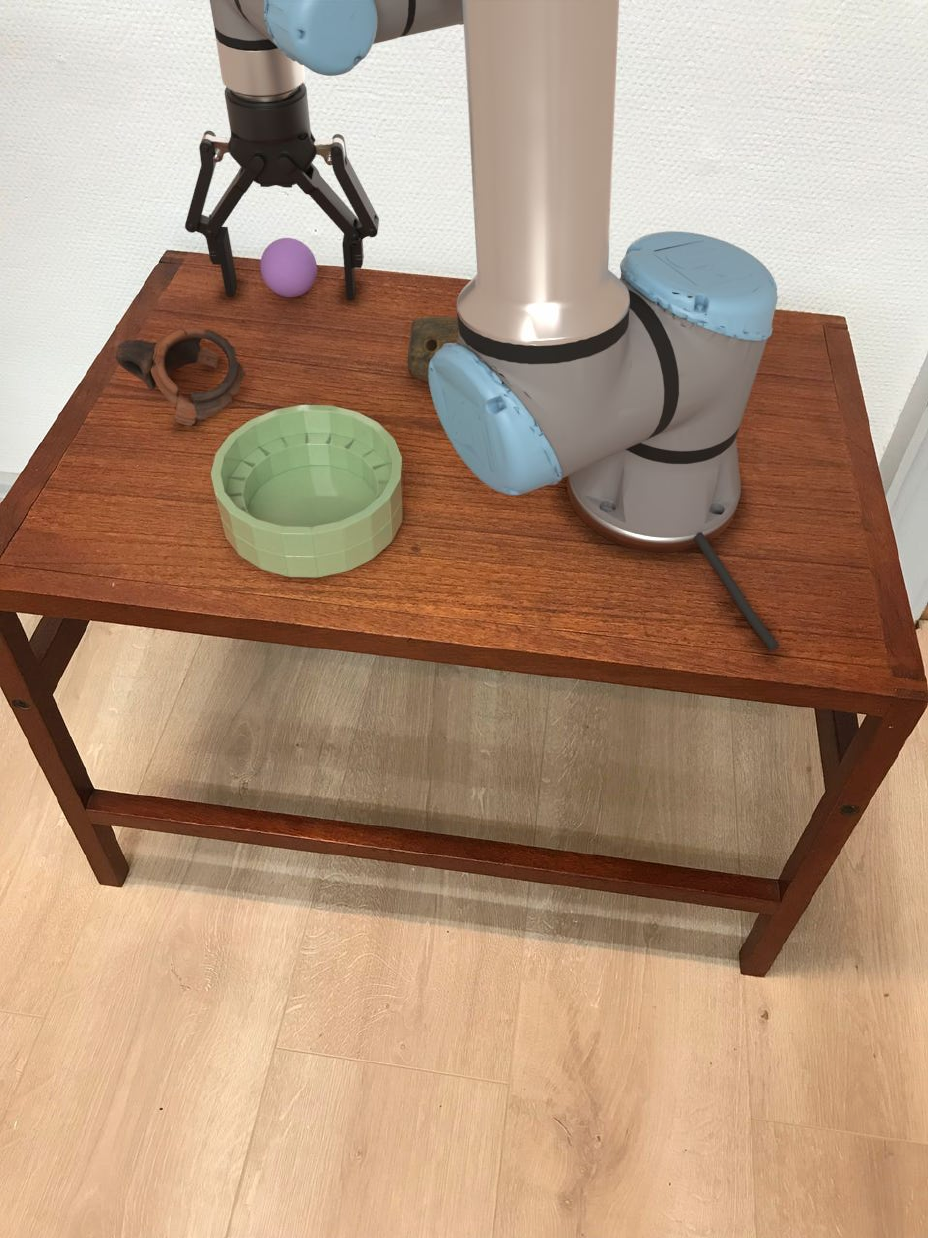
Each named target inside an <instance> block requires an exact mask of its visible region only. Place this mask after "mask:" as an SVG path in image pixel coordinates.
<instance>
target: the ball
mask: <svg viewBox="0 0 928 1238" xmlns="http://www.w3.org/2000/svg"><path fill="white" fill-rule="evenodd" d="M259 264H260V265H259V271H260V274H261V278H262V280H263V282H264V284H265V285H266V286H267V288H268V289H269V290H270V291H272V292H273V293H274V294H276V295H278V296H280V297H283V298H297V297H300V296H302V295H304V294H306V293H307V292H309V290H310V289H311V288H312V287H313V286H314V284H315V281H316V279H317V275H318V265H317V259H316V257H315V255H314V253H313V251H312V250H311V249H310V247H309V246H308V245H306V243H304V242H302V241H301V240H299V239H296V238H294V237H293V238H292V237H282V238H277V239H275V240H274V241H272V242H270V243H269V244H268V245H267V247H266V248H264V251H263V252H262V255H261V258H260V262H259Z"/></svg>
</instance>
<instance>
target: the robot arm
mask: <svg viewBox="0 0 928 1238" xmlns="http://www.w3.org/2000/svg"><path fill="white" fill-rule="evenodd" d="M209 4H210V10H211V11H210V12H211V16H212V21H213V28H214V35H215V41H216V48H217V56H218V61H219V68H220V76H221V81H222V83H223V85H224V86H225V89H224V100H225V105H226V110H227V111H226V112H227V118H228V123H229V130H230V137H224V136H217V135H216V133H215V132H214V131H212V130H205V131H204V133H203V135H202V138H201V140H200V143H199V147H198V148H199V157H200V158H199V159H200V168H199V172H198V176H197V179H196V183H195V187H194V191H193V194H192V198H191V201H190V205H189V207H188V208H189V209H188V212H187V216H186V220H185V224H184V228H185V230H186V231H187V232H188V233H190V234H193V233H195V232H196V233H199V234H201V235H202V236H204V238H205V239H206V240H205V241H206V245H207V251H208V255H209V261H210V263H212V265H215V266H220V269H221V274H222V279H223V284H224V290H225V291H224V292H225V296H226V297H234V295H235V293H236V289H237V284H238V279H237V273H236V268H235V262H234V256H233V250H232V244H231V239H230V233H229V227H228V226H224V224H225V223H226V221H227V220H228V219H229V217H230V215H231V214H232V213H233V211H234V209H235V208H236V206H237V205H238V204H239V202H240V201H241V199H242V197H243V196H244V195H245V194H246V193H247V192H248V190H249V189H250V187H252V184H253V183H256V184H258V185H260V186H259V187H260V188H270V187H274V186H277V187H282V188H286V189H287V188H288V189H289V188H290V189H292V188H293V186H295V185H297V186H298V187H299V189H300V190H301V191H302V192H303V193H304V194H305V195H308V196H310V198H311V199H312V200H313V201H314V202H315V203H316V205H317V206H318V207H319V208H320V209H321V210H322V211H323V212H324V214H326V216H327V217H329V219H330V220H331V221H332V222H333V223H334V224H335V226H336V227H337V228H338V229H339V230H340V231H341V232H342V234H343V237H342V243H341V245H342V246H341V247H342V254H343V255H342V259H343V270H344V281H345V282H344V283H345V294H346V300H354V299H355V293H356V272H355V269H362V267H363V265H364V259H365V257H364V253H365V252H364V239H365V238H367V237H369V238H375V237H376V236H378V233H379V225H380V217H379V215H378V214H377V212H376V210H375V207H374V206H373V204H372V202H371V201H370V197H369V196H368V195H367V193H366V190H365V189H364V187H363V184H362V183H361V181H360V179H359V177H358V175H357V173H356V171H355V169H354V167H353V165H352V164H351V161H350V160H349V158H348V154H347V147H346V140H345V137H344V136H343V135H342V134H340V133H335V134H333V136H332V138H331V139H316V138H315V136H314V135H313V133H312V128H311V122H310V121H311V120H310V110H309V101H308V100H309V99H308V91H307V86H306V84H305V83H304V81H305V79H306V69H305V68H307V69H308V70H310V71H311V72H313V73H316V74H318V75H322V76H327V77H336V76H341V75H345V74H347V73H349V72H351V71H352V70H353V69H354V68H355V67H356V66H358V64H359V63H360V62H361V61H362V60H365V58H366V57H367V56H368V54H369V53H370V51H371V50H372V48H373V46H374V45H376V44H380V43H385V42H388V41H393V40H397V39H398V38H403V37H408V36H413V35H418V34H422V33H425V32H431V31H436V30H440V29H444V28H445V29H446V28H448V27H453V26H458V25H459V26H462V25H463V39H464V40H463V41H464V55H465V58H464V59H465V75H466V94H467V95H466V96H467V111H468V128H469V129H468V130H469V131H468V132H469V149H470V150H469V151H470V165H471V166H470V167H471V186H472V203H473V221H474V223H473V224H474V237H475V259H476V274H475V275H474V277H473V278H472V279H470V280H469V282H468V283H467V284H466V285H465V286H463V288H462V290H461V291H460V292H459V293H458V296H457V297H456V298H457V299H456V318H457V319H458V335H459V338H458V341H457V342H456V343H446V344H444V345H443V346H442V348H441V349H439V350H438V351H437V352H435V355H434V356H433V358H432V359H431V361H430V364H429V369H428V378H429V382H428V387H429V392H430V397H431V399H432V403H433V406H434V408H435V412H436V415H437V417H438V420H439V422H440V424H441V426H442V428H443V430H444V433H445V435H446V436H447V438H448V440H449V442H450V443H451V444H452V446H453V448H454V450H455V451H456V453H457V455H458V456H459V458H460V459H461V460H462V461H463V463H464V464H465V466H467V468H468V469H469V470H470V471H471V472H472V473H473V475H475V477H477V479H479V480H480V481H481V482H482V483H483V484H484V485H486V486H488V488H490V489H492V490H494V491H496V492H498V493H500V494H503V495H506V496H520V495H524V494H527V493H530V492H533V491H536V490H538V489H541V488H543V487H547V486H555V485H557V484H559V482H562V480H563V479H565V478H566V477H567V479H566V491H567V496H568V500H569V502H570V504H571V506H572V508H573V510H574V512H575V513H576V515H577V516H578V517H579V518H580V519H581V521H582V522H583V523H584V524H585V525H587V527H589V529H591V530H593V531H594V532H595V533H597V534H598V535H599V536H601V537H602V538H605V539H607V540H609V541H610V542H613V543H615V544H617V545H620V546H623V547H625V548H629V549H632V550H636V551H641V552H647V553H660V554H661V553H666V554H667V553H678V552H685V551H689V550H693V549H696V548H699V549H700V550H701V552H702V553H703V556H705V558H706V559H707V561H708V562H709V564H710V565H711V567H712V569H713V570H714V571H715V573H716V575H717V576H718V577H719V580H720V581H721V582H722V584H723V585H724V587H725V589H726V590H727V592H728V593H729V595H730V596H731V598H732V599H733V601H734V603H735V604H736V606H737V608H738V609H739V610H740V612H741V614H742V616H744V617H745V619H746V621H747V623H749V624H748V625H750V626H751V628H752V629H753V631H754V632H755V633H756V635H757V636H758V637H759V639H761V641H762V642H763V644H764V645H765V646H766V647H767V649H769V650H768V651H770V652H774V651H775V650H777V649H778V648H779V647H780V644H779V642H778V641H777V640H776V639H775V637H774V636H773V635H772V634H771V632H770V631H769V629H767V627H766V626H765V625H764V623H763V622H762V620H761V619H760V618H759V617H758V615H757V614H756V612H755V611H754V609H753V607H752V606H751V605H750V603H749V602H748V600H747V599H746V597H745V596H744V594H743V592H742V590H741V589H740V588H739V586H738V585H737V583H736V581H735V580H734V578H733V577H732V575H731V573H730V572H729V571H728V570H727V568H726V566H725V565H724V563H723V561H722V559H720V557H719V556H718V554H717V553H716V551H715V549H714V548H713V547H712V545H711V544H710V542H712V541H713V540H715V539H717V538H718V537H720V536H721V534H722V533H724V532H725V531H726V529H727V528H728V527H729V526H730V525H731V523H732V521H733V518H734V516H735V513H736V510H737V508H738V504H739V502H740V498H741V493H742V481H741V474H740V473H741V472H740V464H739V463H740V462H739V452H738V442H737V436H738V433H739V430H740V426H741V425H742V424H741V423H742V420H743V418H744V415H745V411H746V408H747V405H748V402H749V399H750V396H751V393H752V390H753V386H754V384H755V380H756V377H757V374H758V370H759V367H760V364H761V360H762V358H763V355H764V351H765V348H766V345H767V342H768V339H770V337H771V336H772V334H773V328H774V327H773V321H774V317H775V312H776V308H777V304H778V297H779V296H778V287H777V283H776V281H775V278H774V277H773V275H772V273H771V272H770V270H769V268H767V267H766V266H765V264H763V263H762V261H760V260H759V259H758V258H756V257H755V256H754V255H753V254H751V253H750V252H748V251H747V250H745V249H743V248H741V247H739V246H737V245H735V244H733V243H730V242H729V241H725V240H723V239H720V238H717V237H713V236H709V235H705V234H701V233H697V232H690V231H675V230H674V231H673V230H669V231H658V232H652V233H649V234H646V235H645V234H644V235H643V236H641V237H639V238H638V239H636V240H634V241H632V243H630V245H629V246H628V248H627V249H626V252H625V255H624V257H623V258H622V259H621V261H620V263H619V269H620V278H619V277H618V276H617V275H615V273H613V272H612V270H610V269H609V259H610V239H611V237H610V234H611V230H610V229H611V214H612V213H611V211H612V209H611V208H612V188H613V186H612V185H613V166H614V165H613V161H614V140H615V139H614V137H615V114H616V89H617V63H618V43H619V41H618V39H619V20H620V19H619V18H620V17H619V15H620V0H209ZM227 153H229V155H230V156H231V157H232V159H233V160H234V161H235V162H236V163H237V164H238V165H239V170H238V172H237V173H236V175H235V176H234V178H233V179H232V181H231V182H230V184H229V186H228V187H227V189H226V190H225V191H224V193H223V194H222V196H221V198H220V200H219V201H218V203H217V204H216V205H215V207H214V209H213V210H212V212H211V213H210V214H209V215H208V216H207V215H204V214H203V211H204V208H205V205H206V201H207V197H208V193H209V191H210V186H211V183H212V180H213V176H214V173H215V169H216V166H217V163H220V162H223V159H224V156H225V154H227ZM317 156H321V157H322V159H323V161H324V162H325V164H326V165H327V166H329V167H330V166H331V168H332V170H333V174H334V176H335V178H336V180H337V182H338V183H339V185H340V188H341V190H342V191H343V193H344V195H345V197H346V199H347V200H348V202H349V204H350V206H351V208H352V210H353V211H354V212H353V211H352V210H351V209H350V208H349V207H348V205H347V204H346V203H345V202H344V200H343V199H342V198H341V197H340V196H339V195H338V194H337V193H336V192H335V190H333V188H332V187H331V186H330V185H329V183H328V182H327V181H326V180H325V179H324V178H323V177H322V175H321V174H320V171H319V169H318V168H317V167H316V166H315V164H314V163H313V162H314V160H315V159H316V157H317Z"/></svg>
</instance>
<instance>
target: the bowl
mask: <svg viewBox="0 0 928 1238" xmlns="http://www.w3.org/2000/svg"><path fill="white" fill-rule="evenodd" d="M403 472H404V467H403V456H402V454H401V452H400V449H399V446H398V444H397V442H396V440H395V438H394V437H393V436H392V435H391V434H390V433H389V432H388V430H387V429H386V428H384V427H383V426H382V425H381V424H380V423H379V422H378V421H376V420H374V419H373V418H371V417H369V416H366V415H364V414H362V413H361V412H359V411H357V410H351V409H348V408H343V407H338V406H335V405H330V404H329V405H328V404H326V405H325V404H298V405H295V406H289V407H282V408H277V409H273V410H271V411H269V412H266V413H264V414H262V415H258V416H257V417H254V418H252V419H250V420H248V421H246V422H245V423H243V424H242V425H241V426H240V427H238V428H237V429H235V430H234V431H233V432H231V433H230V434H229V435H228V436H227V438H226V439H225V440H224V441H223V443H222V444H221V446H220V447H219V448H218V450H217V451H216V452H215V455H214V459H213V463H212V467H211V471H210V478H211V482H212V488H213V492H214V495H215V499H216V500H215V501H216V504H217V508H218V512H219V517H220V520H221V524H222V528H223V532H224V536H225V539H226V540H227V541H228V543H229V544H230V545H231V547H232V548H233V549H234V551H235V552H236V553H237V554H238V556H239V557H241V558H243V559H244V560H246V561H247V562H248V563H251V565H254V566H255V567H257V568H258V569H260V570H262V571H265V572H269V573H273V574H277V575H280V576H283V577H287V578H288V577H289V578H313V579H314V578H322V577H327V576H332V575H337V574H341V573H346V572H349V571H351V570H354V569H355V568H357V567H360V566H362V565H364V564H365V563H368V562H369V561H371V560H374V559H375V558H376V557H377V556H378V555H379V554H381V552H382V551H383V550H385V549H386V548H387V547H388V546H389V545H390V544H391V543H392V542H393V541H394V539H395V537H396V535H397V533H398V530H399V529H400V527H401V525H402V523H403V519H404V517H403V516H404V505H405V499H404V498H405V497H404V473H403Z"/></svg>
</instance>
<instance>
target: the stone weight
mask: <svg viewBox="0 0 928 1238" xmlns="http://www.w3.org/2000/svg"><path fill="white" fill-rule="evenodd" d="M410 325H411V326H410V333H409V341H408V350H407V369H408V373H409V375H410V377H412V378H414V379H416V380H418V381H420V382H421V381H422V382H425V383H429V378H428V369H429V364H430V361H431V359H432V358H433V356H434V355H435V352H437V351H438V350H439V349H441V348H442V346H443V345H444V344H446V343H456V342H457V341H458V338H459V335H458V319H457V317H453V316H438V315H437V316H425V317H420V318H419V317H418V318H415V319H414V320H413V321H412V322H411V324H410Z"/></svg>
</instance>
